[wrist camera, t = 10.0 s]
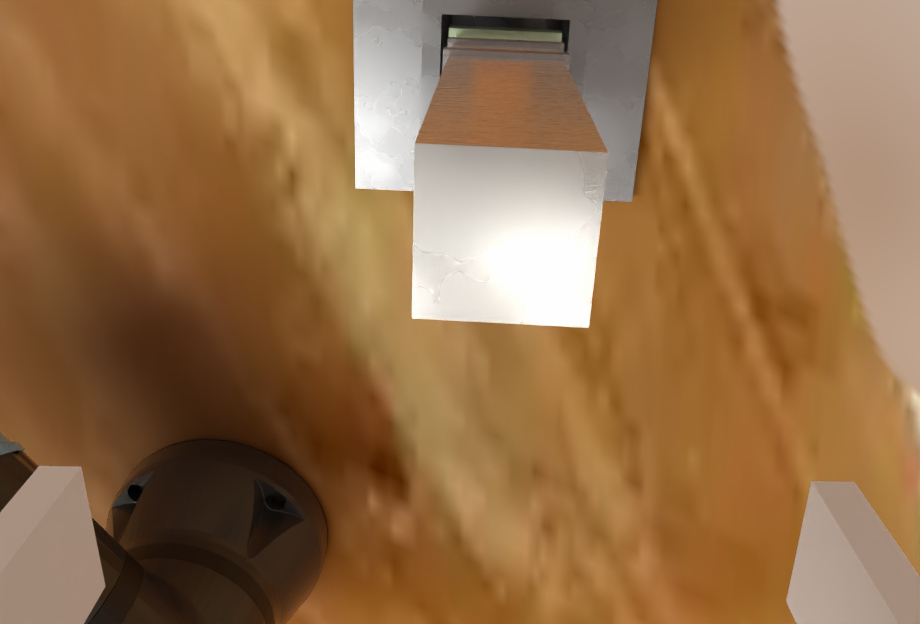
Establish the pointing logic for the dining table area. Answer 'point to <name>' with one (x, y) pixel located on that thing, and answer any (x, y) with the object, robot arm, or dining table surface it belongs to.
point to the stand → (494, 5)
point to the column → (506, 185)
